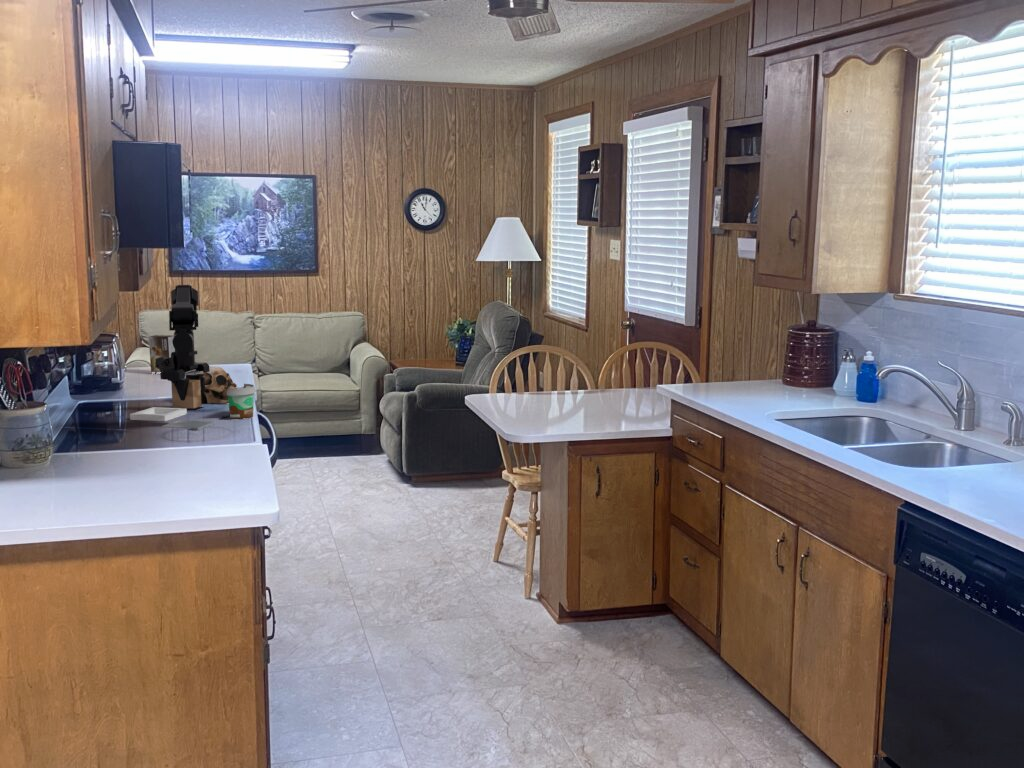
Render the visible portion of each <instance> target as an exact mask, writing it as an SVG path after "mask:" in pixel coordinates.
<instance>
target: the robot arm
mask: <svg viewBox="0 0 1024 768" xmlns="http://www.w3.org/2000/svg"><path fill="white" fill-rule="evenodd" d="M170 302H171V303H170V304H171V310H168V311H169V313H168V318H169V320H168V322H169V324H168V328H169V329H168V330H169V331H174V333H173V336H174V338H173V341H172V343H173V346H174V349H175V352H172V353H171V357H170V358H167V359H164V358H163V357H159V358H157V359H156V360H155V367H156V368H157V369H159V370H160V372H161V373H160V380H167V381H168V382H172V383H173V384H174V385H175V387H176V389H177V392H178V394H179V397H180V399H181V400H183V401H184V400H185V397H186V393H187V388H188V384H189V380H200V387H201V392H204V391H205V378H204V377H203V376H204V374H200V371H203V372H204V373H206V372H210V369H209V367H210V364H208V362H196V355H198V350H195V336H194V335H195V334H194V331H197V328H199V313H197V310H198V306H200V299H199V291H198V290H197V289H195V288H193V285H190V284H177V285H175V287H174V289H172V290H171V291H170ZM203 408H205V407H204V406H200V407H197V408H185V409H187V411H197V410H201V409H203Z"/></svg>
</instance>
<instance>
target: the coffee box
mask: <svg viewBox="0 0 1024 768" xmlns="http://www.w3.org/2000/svg"><path fill="white" fill-rule="evenodd" d="M173 338H174V335H168V334H167V335H166V334H165V335H164V334H163V335H162V334H161V335H160V334H157V335H151V336H148V343H149V344H148V348H149V360H150V362H149V363H150V373H151V372H155V373H157V372H160V370H159V369H157V368H156V367H155V360H156V359H157V358H159V357H163V358H164V359H167V358H170V357H171V353H172V352H175V349H174V346H173V343H172V341H173Z"/></svg>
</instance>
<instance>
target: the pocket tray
mask: <svg viewBox="0 0 1024 768" xmlns="http://www.w3.org/2000/svg"><path fill="white" fill-rule="evenodd" d="M184 415H188V410H187V409H185V408H173V407H159V406H157V407H156V406H153V407H149V408H146V409H143V410H139V411H136V412H132V413H129V420H130V421H147V422H149V421H152V422H153V421H154V422H167V421H170V420H173V419H176V418H179V417H182V416H184Z"/></svg>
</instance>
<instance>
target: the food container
mask: <svg viewBox="0 0 1024 768" xmlns="http://www.w3.org/2000/svg"><path fill="white" fill-rule="evenodd" d="M255 393H257V391H256V387H255V385H254V384H250V383H243V386H241V387H236V388H235V389H228V391H227V396H228V400H229V404H228V408H229V420H230V419H239V420H244V419H243V418H248V419H250V418H251V417H252V418H253V417H254V398H255ZM252 418H251V419H252Z"/></svg>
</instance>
